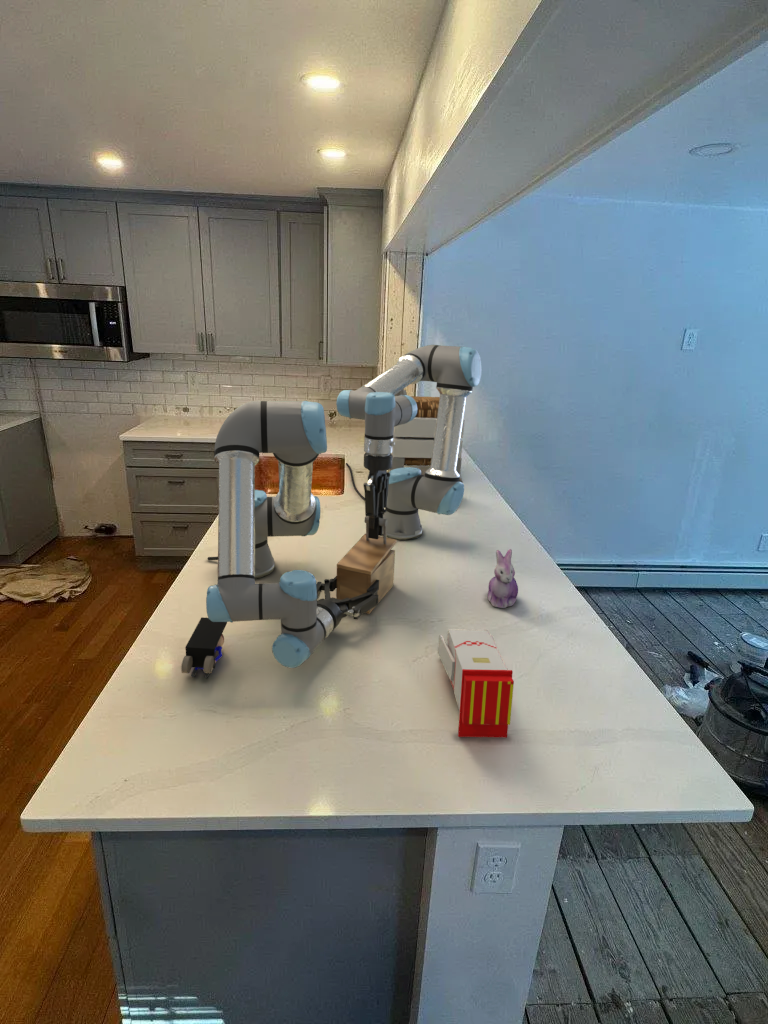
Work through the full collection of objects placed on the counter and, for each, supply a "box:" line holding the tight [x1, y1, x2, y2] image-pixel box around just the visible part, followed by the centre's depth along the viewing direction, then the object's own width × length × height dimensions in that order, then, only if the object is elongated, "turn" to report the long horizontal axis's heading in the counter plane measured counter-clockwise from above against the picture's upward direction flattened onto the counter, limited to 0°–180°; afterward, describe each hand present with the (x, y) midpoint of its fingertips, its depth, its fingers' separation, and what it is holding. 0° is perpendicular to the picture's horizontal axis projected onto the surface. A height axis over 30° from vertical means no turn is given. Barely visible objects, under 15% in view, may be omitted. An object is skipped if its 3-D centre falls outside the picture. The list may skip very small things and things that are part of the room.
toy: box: [437, 628, 515, 738], centre depth 117 cm, size 12×13×30 cm
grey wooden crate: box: [389, 388, 465, 476], centre depth 268 cm, size 34×33×41 cm
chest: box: [335, 549, 396, 615], centre depth 154 cm, size 18×10×11 cm, turn 159°
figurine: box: [487, 548, 519, 609], centre depth 154 cm, size 9×10×15 cm
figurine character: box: [180, 616, 228, 679], centre depth 123 cm, size 7×8×15 cm
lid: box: [336, 515, 398, 575], centre depth 151 cm, size 18×10×8 cm, turn 158°
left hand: (359, 580), depth 150 cm, fingers closed on chest, 10 cm apart
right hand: (375, 536), depth 156 cm, fingers closed on lid, 2 cm apart
